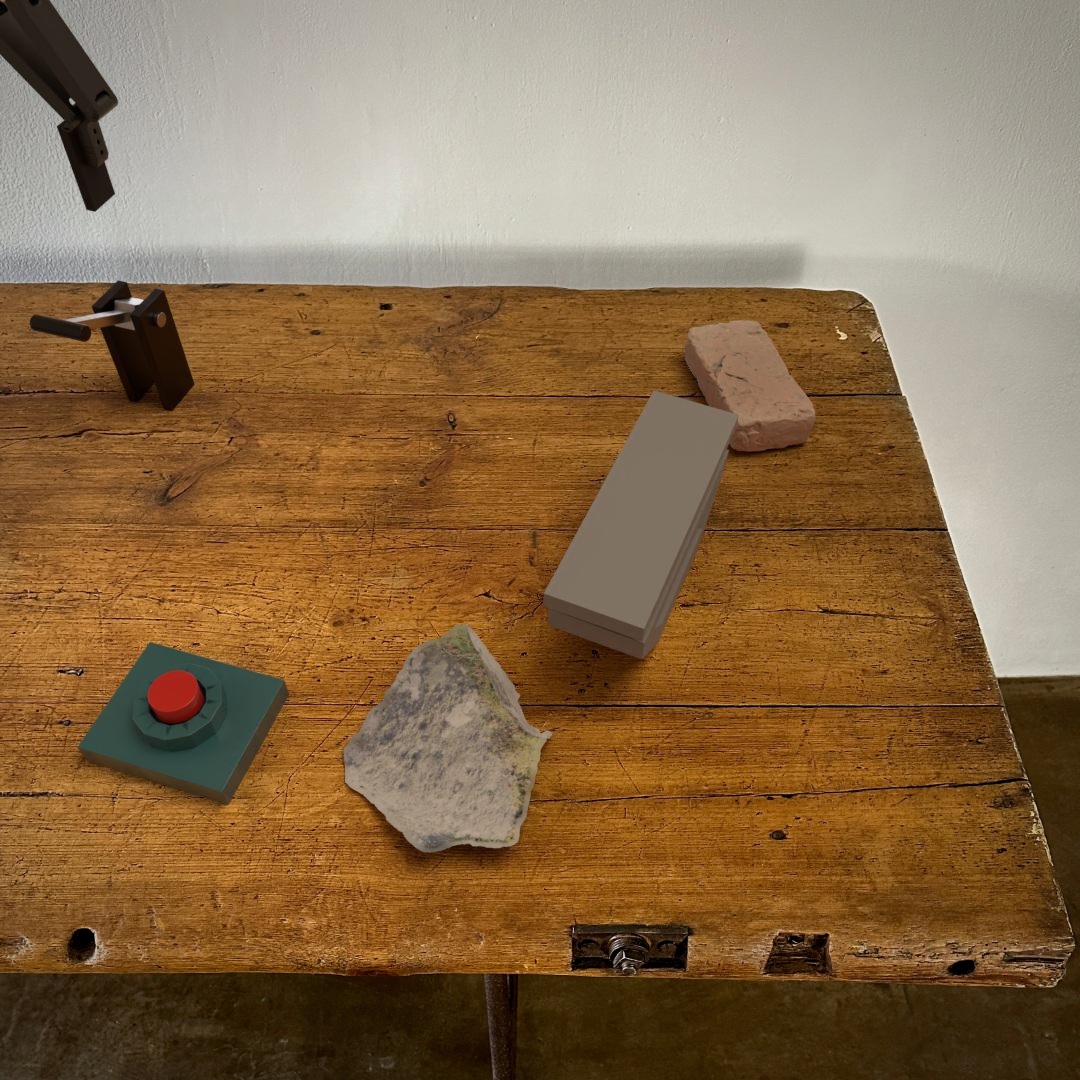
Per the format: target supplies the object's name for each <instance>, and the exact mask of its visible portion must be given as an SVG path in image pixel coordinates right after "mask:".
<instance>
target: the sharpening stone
mask: <svg viewBox="0 0 1080 1080" xmlns="http://www.w3.org/2000/svg"><path fill="white" fill-rule="evenodd" d="M738 416H739V415H738V414H734V413H731V412H728V411H724V410H721V409H717V408H714V407H710V406H709V405H708V404H707V405H706V404H703V403H699V402H697V401H693V400H690V399H686V398H682V397H679V396H675V395H673V394H669V393H665V392H662V391H659V390H653V391H652V393H651V395H650V396H649V399H648V400H647V402H646V404H645V405H644V408H643V409H642V411H641V413H640V415H639V417H638V418H637V420H636V422H635V424H634V426H633V428H632V430H631V431H630V434H629V435H628V437H627V439H626V441H625V443H624V444H623V446H622V448H621V450H620V452H619V453H618V456H617V457H616V459H615V461H614V463H613V464H612V466H611V468H610V470H609V472H608V474H607V476H606V478H605V479H604V481H603V483H602V485H601V487H600V489H599V490H598V492H597V494H596V496H595V498H594V499H593V501H592V504H591V505H590V507H589V509H588V511H587V513H586V515H585V517H584V518H583V520H582V521H581V524H580V526H579V528H578V529H577V532H576V533H575V535H574V537H573V538H572V541H571V542H570V544H569V546H568V548H567V550H566V552H565V553H564V554H563V557H562V559H561V561H560V563H559V564H558V566H557V568H556V570H555V572H554V573H553V576H552V578H551V579H550V581H549V583H548V585H547V586H546V588H545V590H544V592H543V601H542V602H543V603H542V604H543V607H546V608H548V609H547V610H548V612H547V613H548V614H547V626H549V627H551V628H554V629H556V630H560V631H563V632H565V633H568V634H570V635H574V636H577V637H580V638H582V639H585V640H587V641H590V642H592V643H596V644H598V645H600V646H604V647H607V648H609V649H612V650H614V651H617V652H619V653H620V652H621V653H623V654H626V655H629V656H631V657H634V658H637V659H640V660H643V659H644V658H645V657H646V656H647V655H648V654H649V653H650V652H651V651H652V650H653V649H654V648H655V647H656V646H657V645H658V644H659V642H660V640H661V637H662V634H663V632H664V630H665V628H666V625H667V623H668V621H669V618H670V616H671V614H672V611H673V609H674V606H675V604H676V602H677V599H678V597H679V594H680V592H681V590H682V587H683V586H684V583H685V581H686V578H687V576H688V573H689V571H690V569H691V567H692V564H693V562H694V559H695V557H696V556H697V552H698V551H699V547H700V544H701V541H702V538H703V535H704V533H705V532H704V531H705V529H706V526H707V523H708V521H709V517H710V514H711V511H712V507H713V505H714V501H715V499H716V496H717V492H718V490H719V487H720V484H721V481H722V477H723V475H724V471H725V469H726V465H727V461H728V456H729V453H730V450H729V449H728V447H729V446H730V443H729V442H730V440H731V438H732V435H733V433H734V431H735V429H736V425H737V421H738Z"/></svg>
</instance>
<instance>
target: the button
mask: <svg viewBox="0 0 1080 1080" xmlns="http://www.w3.org/2000/svg"><path fill="white" fill-rule="evenodd" d="M148 701H149V703H150V705H151V707H152V709H153V711H154V713H155V714H156V716H157V717H158V718H159V719H160V720H161V721H163V722H166V723H170V724H177V723H182V722H185V721H187V720H189V719H191V718H192V717H193V716H194V715H196V714H197V712H198V711H199V710H200V708H201V706H202V703H203V694H202V691H201V689H200V687H199V685H198V683H197V680H196V679H195V677H194V676H193V675H192V674H190V673H188V672H185V671H171V672H167V673H165V674H163V675H161V676H160V677H158V678H157V679H156V680H155V681H154V682H153V683H152V685H151V686H150V688H149V691H148Z"/></svg>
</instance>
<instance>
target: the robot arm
mask: <svg viewBox="0 0 1080 1080" xmlns="http://www.w3.org/2000/svg"><path fill="white" fill-rule="evenodd" d="M0 56H1V57H2V58H3V59H4V60H5V62H7V63H8V64H9V65H10V67H12V68H13V70H14V71H16V73H17V74H18V75H19V76H20V77H21V78H22V79H23V80H24V81H25V82H26V83H27V84H28V85H29V86H30V87H31V88H32V89H33V90H34V91H35V92H36V93H37V94H38V95H39V96H40V98H42V99H43V100H44V102H46V104H47V105H48V106H49V107H51V109H53V110H54V112H55V113H57V115H58V116H59V117H60V118H61V120H63V121H62V122H60V123H59V124H58V125H56V129H57V131H58V135H59V137H60V140H61V143H62V145H63V148H64V150H65V154H66V157H67V160H68V162H69V165H70V168H71V171H72V173H73V177H74V179H75V182H76V184H77V187H78V190H79V193H80V195H81V199H82V201H83V204H84V207H85V210H86V211H90V212H93V213H94V212H95V213H96V212H97V211H98V210H99V209H101V208H102V206H104V205H105V204H106V203H107V202H108V201H109V200H110V199H112V197H114V196H115V195H116V192H115V189H114V186H113V181H112V179H111V176H110V173H109V171H108V168H107V164H106V161H107V160H108V159H109V154H110V153H109V150H108V147H107V143H106V139H105V137H104V133H103V131H102V128H101V124H100V120H102V119H103V118H104V117H106V116H107V115H108V114H109V113H111V112H112V111H113V110H114V109H116V107H118V105H119V99H118V97H117V95H116V93H115V92H114V91H113V90H112V88H111V87H110V85H109V84H108V83H107V81H106V79H105V78H104V77H103V75H102V74H101V72H100V71H99V69H98V68H97V67H96V65H95V64H94V62H93V61H92V59H91V58H90V56H89V55H88V54H87V52H86V51H85V49H84V48H83V46H82V44H80V42H79V40H78V39H77V38H76V36H75V34H74V33H73V32H72V31H71V28H69V26H68V25H67V23H66V21H65V20H64V19H63V18H62V16H61V14H60V13H59V12H58V10H57V8H56V7H55V6H54V5H53V3H52V1H51V0H0ZM70 99H71V100H72V101H73V102H74V103H73V104H72V103H71V101H70Z"/></svg>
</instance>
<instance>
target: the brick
mask: <svg viewBox="0 0 1080 1080" xmlns="http://www.w3.org/2000/svg"><path fill="white" fill-rule="evenodd" d="M686 339H687V341H685V343H684V355H683V356H684V357H685V358H683V359H684V361H685V362H686V366H687V365H688V366H687V368H688V367H689V368H688V370H689V369H690V370H689V372H690V371H691V372H692V374H693V375H694V376H693V375H692V374H691V375H692V376H693V377H694V378H695V379H696V382H697V381H698V383H697V385H698V388H699V390H700V391H701V393H702V395H703V396H704V398H705V402H706V404H707V406H710V407H714V408H717V409H721V410H724V411H728V412H731V413H734V414H738V415H739V416H738V421H737V425H736V429H735V431H734V433H733V435H732V438H731V440H730V442H729V446H730V447H731V448H732V449H733V450H735V451H737V452H764V451H766V450H770V449H784V448H786V447H788V446H792V445H800V444H803V443H807V442H808V439H809V437H810V436H811V433H812V430H813V427H814V424H815V422H816V410H815V408H814V404H813V403H812V401H811V400H810V398H809V397H808V395H807V394H806V393H805V391H804V390H803V389H802V388H801V387H800V385H799V384H798V382H797V381H796V380H795V378H794V377H793V376H792V375H790V373H789V369H788V367H787V366H786V364H785V362H784V360H783V358H782V357H781V355H780V353H779V351H778V350H777V348H776V346H775V345H774V343H773V340H772V339H771V338H770V337H769V336H768V332H766V330H764V329H763V328H762V324H760V323H759V322H758V321H756V320H748V319H747V320H743V319H739V320H730V321H729V322H727V323H726V322H718V323H716V324H712V323H711V324H710V323H709V324H706V325H702V326H694V327H691V328H689V330H688V332H687V335H686ZM691 372H690V373H691Z"/></svg>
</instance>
